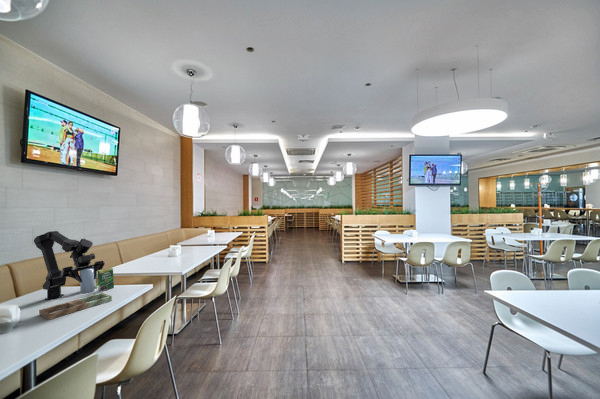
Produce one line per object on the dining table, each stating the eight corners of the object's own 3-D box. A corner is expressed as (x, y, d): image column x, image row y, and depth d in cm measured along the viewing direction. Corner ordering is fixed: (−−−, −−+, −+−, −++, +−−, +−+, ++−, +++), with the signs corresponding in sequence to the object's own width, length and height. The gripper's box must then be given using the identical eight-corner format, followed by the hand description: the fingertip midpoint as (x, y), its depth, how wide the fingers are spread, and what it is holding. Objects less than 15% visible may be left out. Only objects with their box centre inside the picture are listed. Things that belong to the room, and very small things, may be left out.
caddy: (47, 320, 125) (47, 314, 125) (39, 314, 131) (39, 310, 131) (111, 300, 148) (111, 296, 148) (101, 296, 154) (101, 292, 154)
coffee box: (99, 291, 164) (99, 271, 164) (97, 290, 166) (97, 270, 166) (114, 287, 171) (113, 268, 171) (112, 287, 172) (111, 267, 173)
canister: (84, 290, 146) (84, 268, 146) (96, 289, 147) (96, 267, 147) (77, 294, 140) (77, 271, 140) (90, 293, 141) (89, 270, 141)
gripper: (61, 252, 138) (70, 276, 132) (102, 246, 153) (112, 267, 148) (57, 265, 142) (65, 289, 136) (97, 258, 158) (106, 279, 152)
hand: (88, 280), depth 143 cm, fingers closed on canister, 6 cm apart
